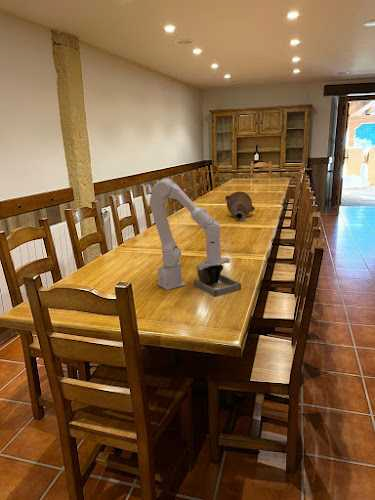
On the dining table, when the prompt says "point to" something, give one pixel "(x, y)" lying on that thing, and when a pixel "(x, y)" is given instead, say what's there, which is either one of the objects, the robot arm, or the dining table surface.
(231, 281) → the grey arch frame
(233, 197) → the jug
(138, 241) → the dining table surface
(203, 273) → the box
